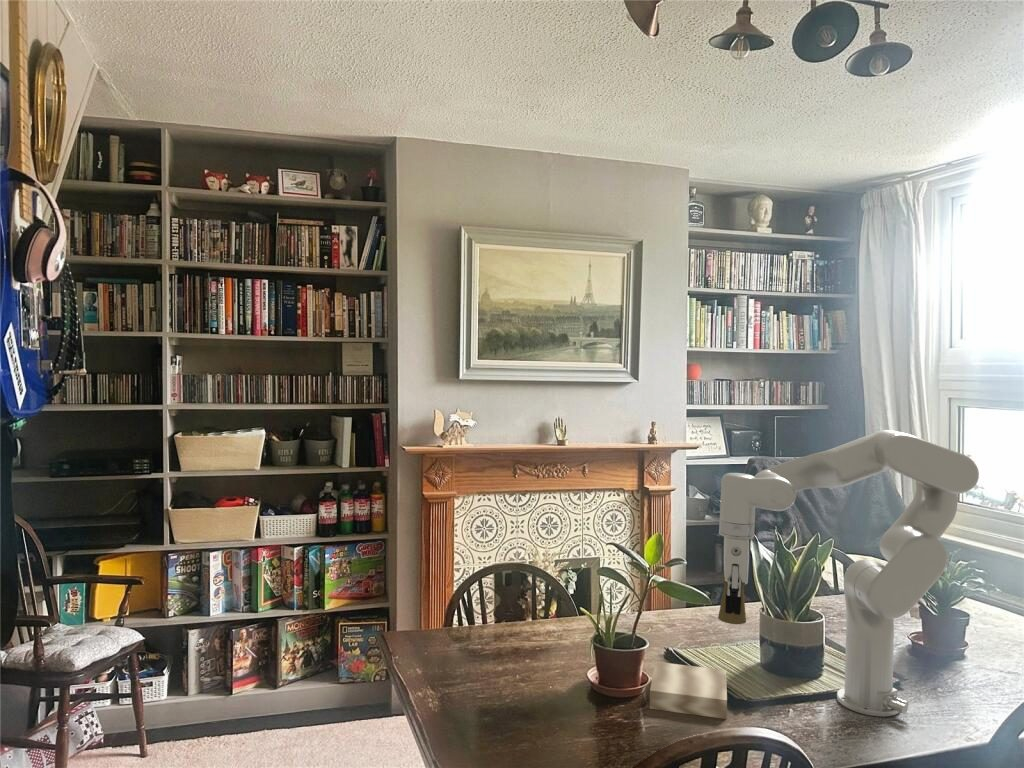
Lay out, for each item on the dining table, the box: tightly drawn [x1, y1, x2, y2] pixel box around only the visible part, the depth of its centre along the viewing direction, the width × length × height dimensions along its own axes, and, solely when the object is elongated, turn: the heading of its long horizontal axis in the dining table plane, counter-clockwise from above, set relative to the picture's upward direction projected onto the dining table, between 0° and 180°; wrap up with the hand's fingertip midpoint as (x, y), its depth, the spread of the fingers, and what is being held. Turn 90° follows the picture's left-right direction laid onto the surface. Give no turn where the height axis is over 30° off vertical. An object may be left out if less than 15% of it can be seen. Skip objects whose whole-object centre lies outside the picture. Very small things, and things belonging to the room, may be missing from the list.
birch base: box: [649, 661, 728, 720], centre depth 163 cm, size 16×16×4 cm
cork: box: [718, 572, 747, 625], centre depth 163 cm, size 6×6×11 cm
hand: (732, 609), depth 163 cm, fingers closed on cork, 4 cm apart
